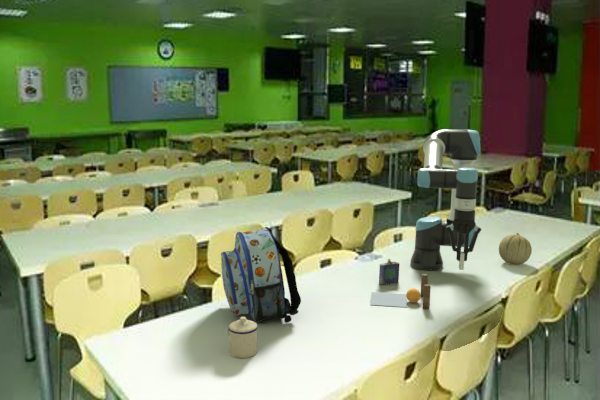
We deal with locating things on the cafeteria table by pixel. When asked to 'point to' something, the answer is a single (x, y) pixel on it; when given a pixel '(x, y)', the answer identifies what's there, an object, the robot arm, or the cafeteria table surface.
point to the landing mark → (388, 299)
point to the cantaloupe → (515, 249)
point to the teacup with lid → (243, 338)
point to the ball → (413, 295)
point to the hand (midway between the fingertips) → (461, 268)
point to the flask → (389, 273)
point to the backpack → (259, 277)
